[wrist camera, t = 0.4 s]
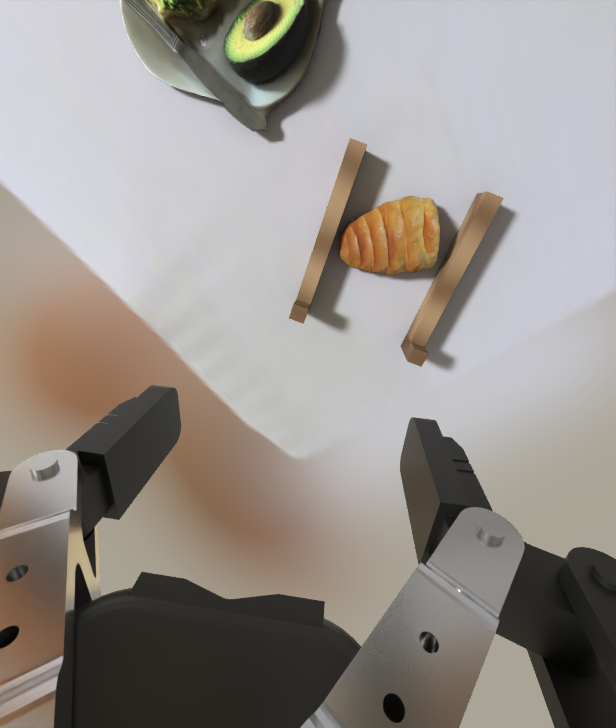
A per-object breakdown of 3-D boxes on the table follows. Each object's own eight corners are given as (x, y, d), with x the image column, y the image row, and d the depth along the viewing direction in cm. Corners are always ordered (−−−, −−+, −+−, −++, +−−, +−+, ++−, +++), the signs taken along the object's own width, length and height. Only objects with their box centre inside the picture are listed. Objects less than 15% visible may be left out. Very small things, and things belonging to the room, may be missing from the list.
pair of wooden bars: (349, 144, 30) (350, 132, 26) (491, 199, 31) (513, 196, 27) (295, 307, 37) (288, 318, 33) (413, 350, 37) (421, 366, 33)
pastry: (344, 280, 35) (343, 287, 32) (334, 211, 33) (332, 210, 29) (436, 265, 34) (446, 270, 30) (433, 191, 31) (444, 188, 28)
